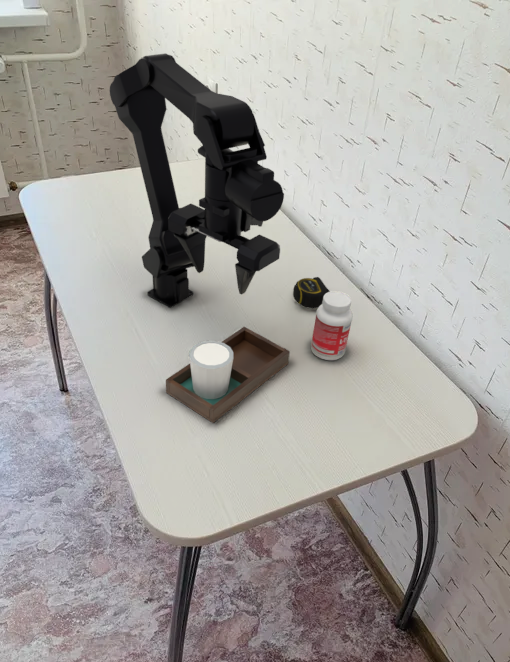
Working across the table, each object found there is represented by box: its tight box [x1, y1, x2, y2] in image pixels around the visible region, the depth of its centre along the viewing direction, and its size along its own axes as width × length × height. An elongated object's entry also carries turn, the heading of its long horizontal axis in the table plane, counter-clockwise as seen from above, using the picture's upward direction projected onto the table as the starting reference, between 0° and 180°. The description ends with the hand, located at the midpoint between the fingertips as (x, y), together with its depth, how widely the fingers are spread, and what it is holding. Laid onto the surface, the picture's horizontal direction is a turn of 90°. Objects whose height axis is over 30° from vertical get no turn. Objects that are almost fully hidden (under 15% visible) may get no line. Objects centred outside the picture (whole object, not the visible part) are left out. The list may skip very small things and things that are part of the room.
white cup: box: [188, 340, 233, 399], centre depth 97 cm, size 7×7×7 cm
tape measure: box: [292, 276, 331, 309], centre depth 120 cm, size 7×7×4 cm
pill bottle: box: [310, 290, 353, 361], centre depth 106 cm, size 6×6×11 cm
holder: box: [165, 326, 291, 424], centre depth 102 cm, size 10×19×3 cm, turn 141°
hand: (221, 282), depth 102 cm, fingers open, 9 cm apart
